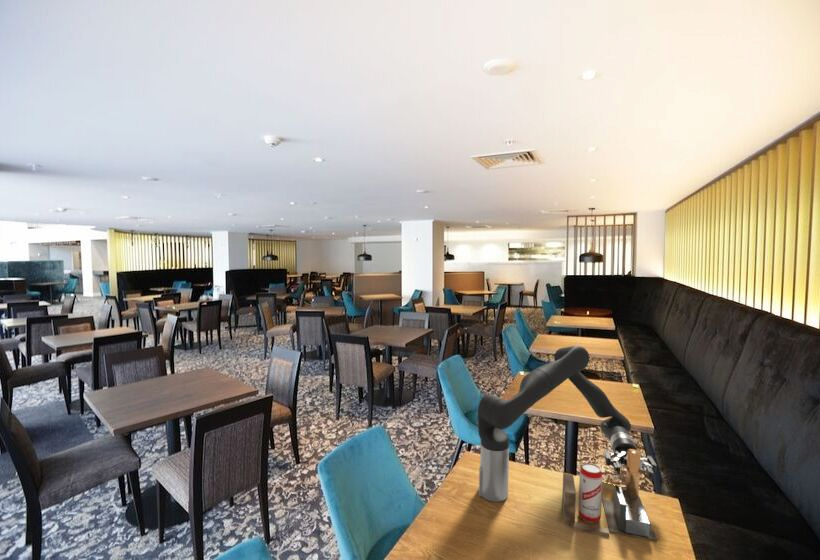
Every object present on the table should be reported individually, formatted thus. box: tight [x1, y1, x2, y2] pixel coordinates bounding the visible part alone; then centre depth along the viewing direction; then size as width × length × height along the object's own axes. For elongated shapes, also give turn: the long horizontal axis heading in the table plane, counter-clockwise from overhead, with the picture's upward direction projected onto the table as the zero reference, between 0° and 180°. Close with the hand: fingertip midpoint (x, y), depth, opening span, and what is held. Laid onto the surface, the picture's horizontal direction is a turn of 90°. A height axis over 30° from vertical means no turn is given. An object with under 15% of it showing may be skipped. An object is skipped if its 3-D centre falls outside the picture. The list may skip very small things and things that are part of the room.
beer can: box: [577, 462, 603, 524], centre depth 121 cm, size 6×6×16 cm
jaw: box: [613, 449, 651, 537], centre depth 120 cm, size 8×15×18 cm, turn 162°
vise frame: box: [561, 472, 658, 542], centre depth 122 cm, size 24×17×10 cm
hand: (634, 473), depth 123 cm, fingers open, 8 cm apart
